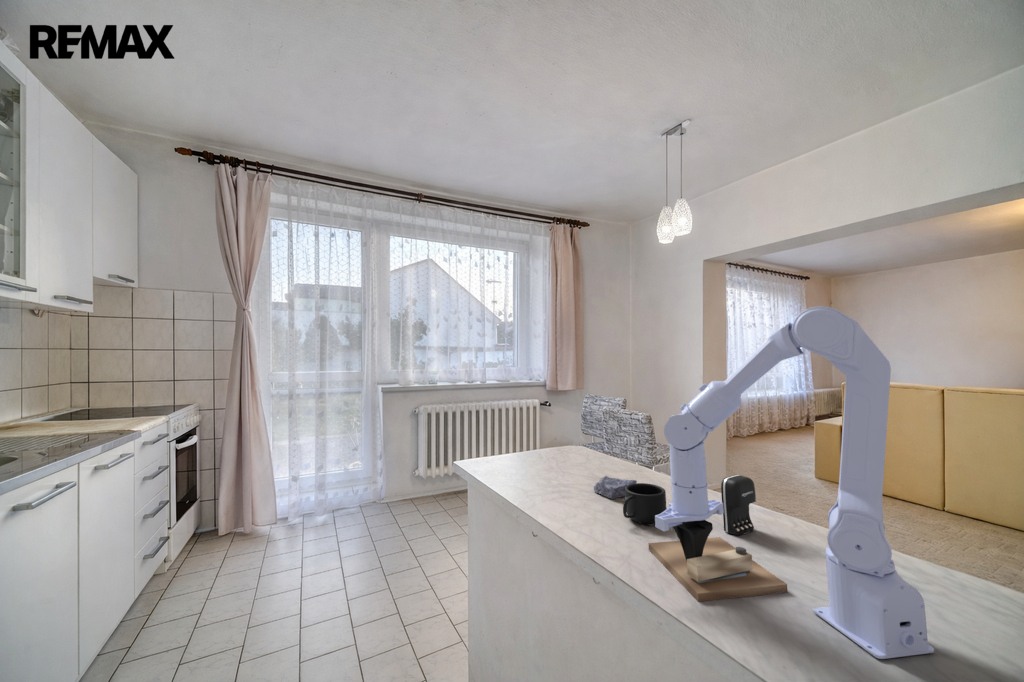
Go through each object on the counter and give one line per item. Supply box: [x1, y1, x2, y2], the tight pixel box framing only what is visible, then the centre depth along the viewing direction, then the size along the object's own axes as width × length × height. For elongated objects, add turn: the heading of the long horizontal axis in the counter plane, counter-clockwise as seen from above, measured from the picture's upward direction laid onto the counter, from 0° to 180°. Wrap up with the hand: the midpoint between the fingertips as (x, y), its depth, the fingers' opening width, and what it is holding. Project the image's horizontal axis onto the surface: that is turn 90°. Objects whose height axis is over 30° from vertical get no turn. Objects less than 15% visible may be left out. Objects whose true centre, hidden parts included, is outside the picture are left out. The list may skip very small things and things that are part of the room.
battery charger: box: [720, 474, 757, 536], centre depth 85 cm, size 7×4×11 cm, turn 117°
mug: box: [622, 482, 667, 526], centre depth 91 cm, size 12×9×7 cm
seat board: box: [648, 536, 789, 602], centre depth 70 cm, size 17×15×2 cm
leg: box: [687, 546, 753, 582], centre depth 66 cm, size 11×2×3 cm, turn 106°
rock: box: [593, 475, 638, 500], centre depth 111 cm, size 12×5×10 cm
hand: (693, 563), depth 68 cm, fingers closed
